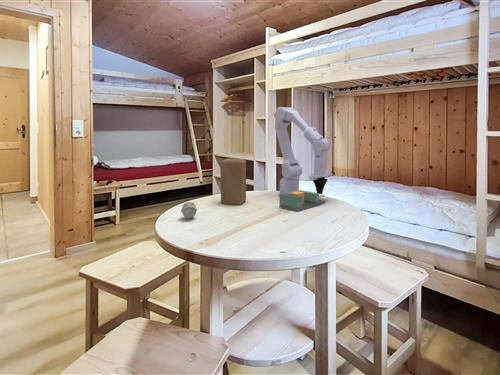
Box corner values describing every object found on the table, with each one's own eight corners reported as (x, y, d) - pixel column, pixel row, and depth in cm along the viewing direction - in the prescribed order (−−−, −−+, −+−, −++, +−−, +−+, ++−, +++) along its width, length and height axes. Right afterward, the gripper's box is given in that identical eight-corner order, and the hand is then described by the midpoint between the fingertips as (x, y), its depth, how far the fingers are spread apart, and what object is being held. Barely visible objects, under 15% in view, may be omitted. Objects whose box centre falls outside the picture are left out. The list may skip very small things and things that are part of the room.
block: (241, 205, 150) (241, 161, 146) (220, 204, 152) (219, 160, 148) (246, 200, 160) (246, 158, 156) (226, 199, 162) (225, 158, 158)
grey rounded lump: (182, 221, 126) (181, 203, 124) (180, 216, 132) (180, 199, 131) (198, 220, 127) (197, 202, 126) (196, 215, 134) (195, 198, 133)
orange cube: (289, 204, 147) (289, 192, 146) (296, 202, 150) (296, 191, 149) (296, 205, 144) (297, 194, 143) (303, 203, 147) (304, 192, 146)
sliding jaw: (297, 199, 155) (298, 190, 155) (306, 196, 160) (307, 188, 159) (315, 202, 148) (316, 193, 148) (324, 200, 153) (325, 191, 152)
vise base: (279, 207, 147) (279, 194, 146) (306, 200, 160) (307, 187, 159) (297, 211, 140) (297, 197, 139) (324, 203, 153) (325, 190, 152)
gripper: (318, 167, 148) (317, 197, 150) (336, 164, 158) (335, 192, 160) (305, 165, 153) (304, 195, 155) (323, 163, 163) (322, 190, 165)
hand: (319, 193), depth 158 cm, fingers closed
